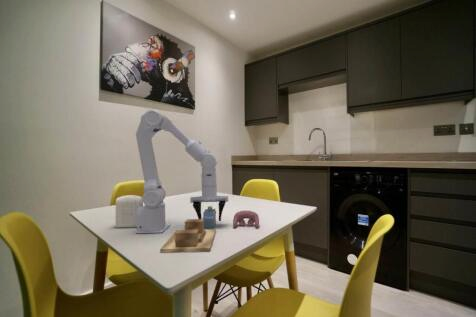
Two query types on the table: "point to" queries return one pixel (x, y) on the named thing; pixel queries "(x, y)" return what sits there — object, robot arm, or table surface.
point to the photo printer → (127, 210)
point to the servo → (209, 218)
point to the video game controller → (246, 214)
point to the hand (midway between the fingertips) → (210, 220)
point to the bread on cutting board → (190, 238)
